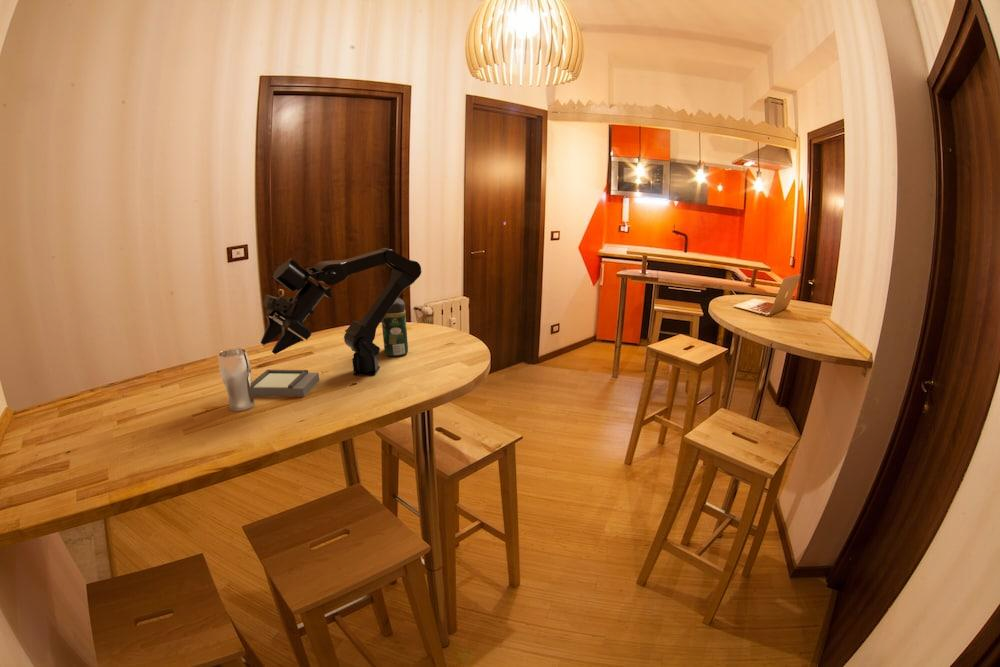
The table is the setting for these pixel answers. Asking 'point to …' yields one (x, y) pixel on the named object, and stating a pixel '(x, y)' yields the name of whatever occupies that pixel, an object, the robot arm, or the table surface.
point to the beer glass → (236, 378)
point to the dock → (284, 383)
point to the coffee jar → (395, 330)
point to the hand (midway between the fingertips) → (267, 348)
